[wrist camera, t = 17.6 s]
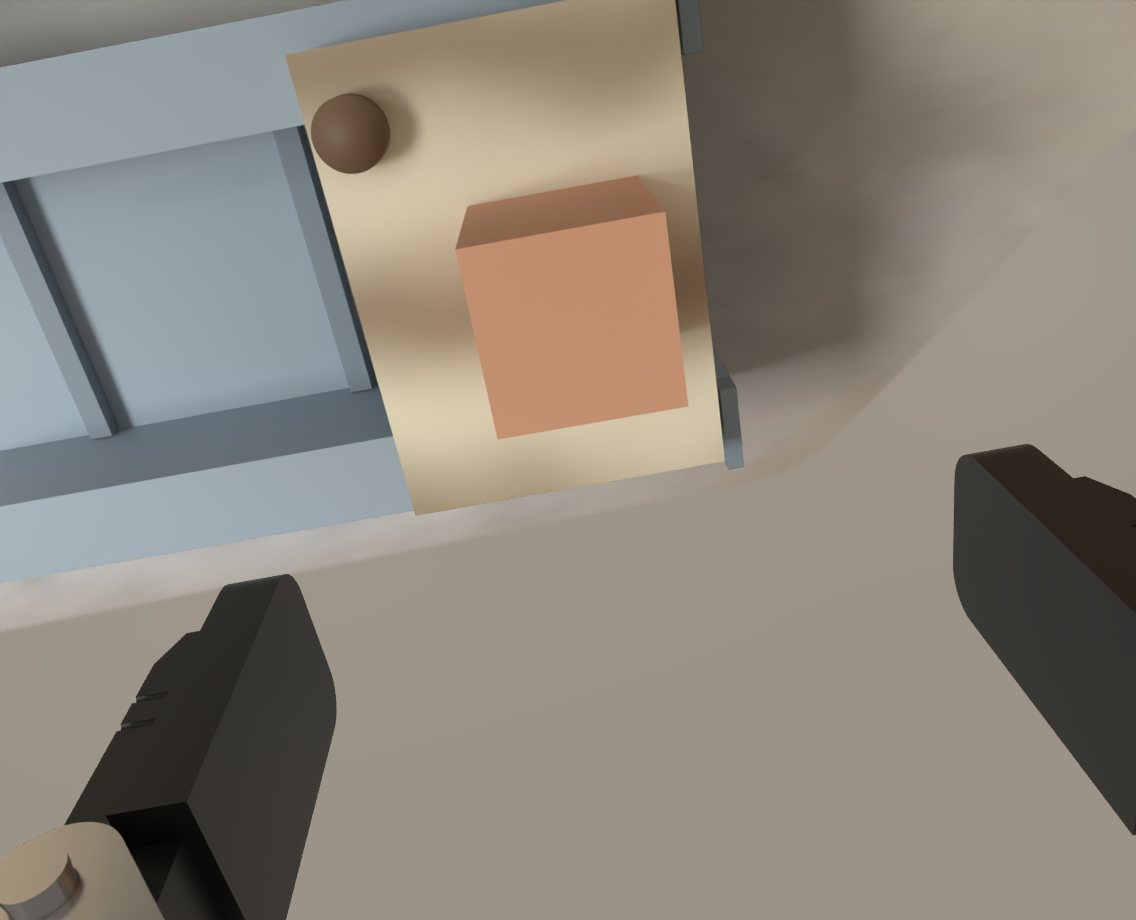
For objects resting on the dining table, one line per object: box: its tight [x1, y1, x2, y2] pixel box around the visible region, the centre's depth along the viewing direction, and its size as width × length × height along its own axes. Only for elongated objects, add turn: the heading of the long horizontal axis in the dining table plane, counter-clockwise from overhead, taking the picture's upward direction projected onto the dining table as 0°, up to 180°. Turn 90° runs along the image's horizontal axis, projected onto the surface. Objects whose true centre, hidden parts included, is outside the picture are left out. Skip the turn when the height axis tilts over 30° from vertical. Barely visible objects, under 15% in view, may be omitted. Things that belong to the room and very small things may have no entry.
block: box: [455, 175, 688, 440], centre depth 22 cm, size 4×4×5 cm
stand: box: [0, 0, 744, 583], centre depth 29 cm, size 15×27×7 cm, turn 100°
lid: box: [285, 0, 725, 516], centre depth 25 cm, size 13×10×3 cm
